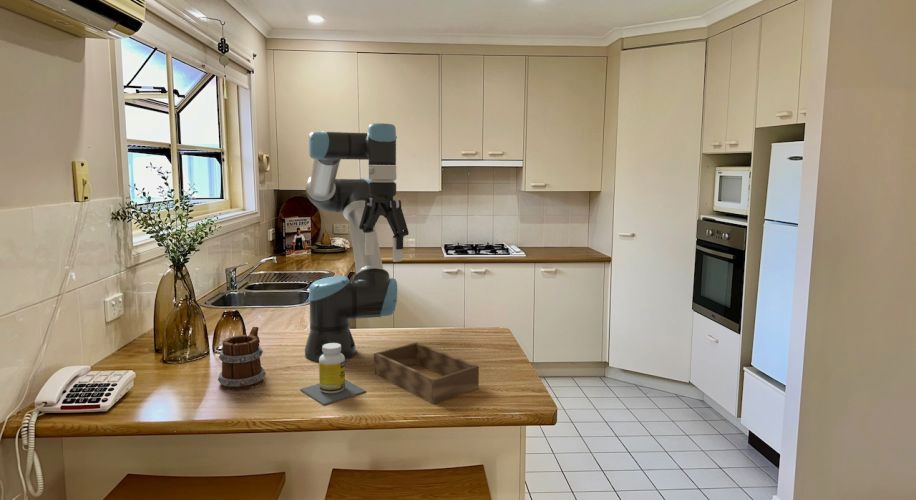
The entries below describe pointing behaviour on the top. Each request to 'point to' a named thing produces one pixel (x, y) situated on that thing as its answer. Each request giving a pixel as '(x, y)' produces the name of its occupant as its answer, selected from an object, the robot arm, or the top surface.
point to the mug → (241, 362)
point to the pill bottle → (332, 369)
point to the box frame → (434, 390)
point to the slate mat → (332, 397)
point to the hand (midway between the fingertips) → (383, 258)
